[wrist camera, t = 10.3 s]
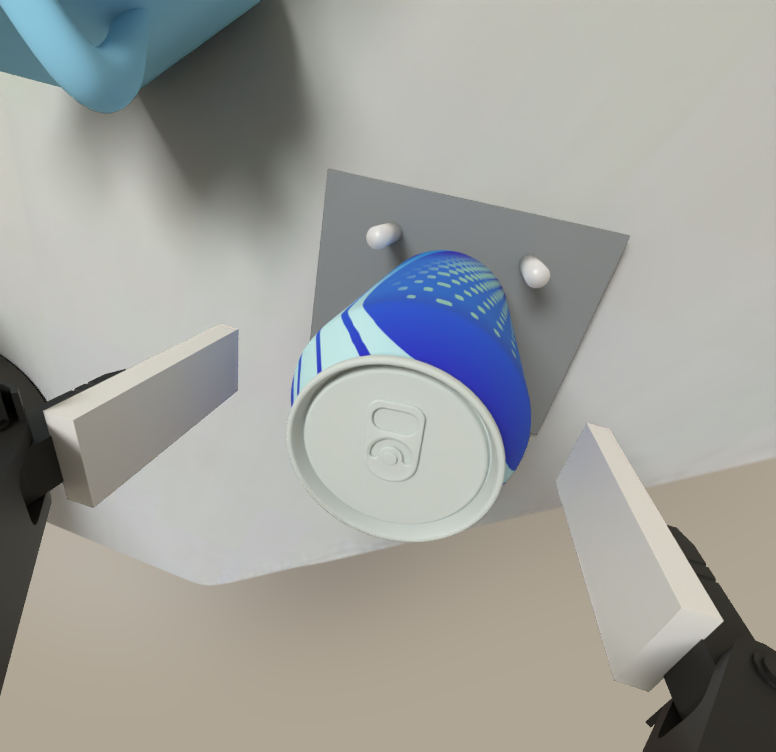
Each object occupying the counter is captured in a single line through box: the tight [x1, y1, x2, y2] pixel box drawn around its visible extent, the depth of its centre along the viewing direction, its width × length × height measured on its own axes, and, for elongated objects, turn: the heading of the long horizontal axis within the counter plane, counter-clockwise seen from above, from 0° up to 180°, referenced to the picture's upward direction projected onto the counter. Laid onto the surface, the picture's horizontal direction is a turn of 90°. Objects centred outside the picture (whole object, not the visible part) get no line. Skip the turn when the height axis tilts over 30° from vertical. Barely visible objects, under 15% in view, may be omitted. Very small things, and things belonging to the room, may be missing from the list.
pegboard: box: [310, 169, 630, 435], centre depth 24 cm, size 18×14×5 cm
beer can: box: [286, 250, 531, 542], centre depth 18 cm, size 8×8×16 cm
